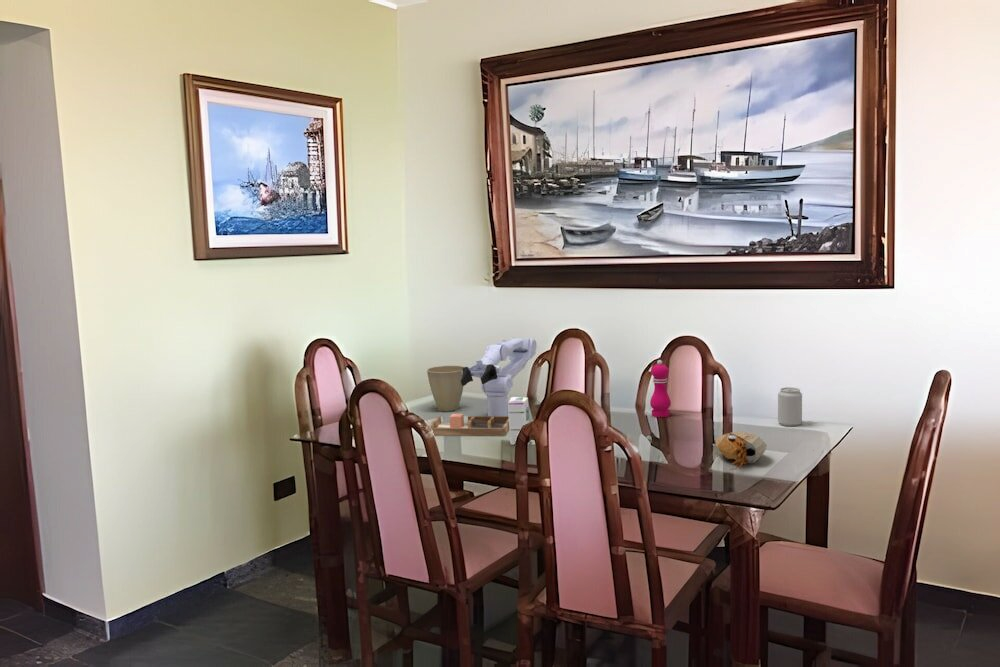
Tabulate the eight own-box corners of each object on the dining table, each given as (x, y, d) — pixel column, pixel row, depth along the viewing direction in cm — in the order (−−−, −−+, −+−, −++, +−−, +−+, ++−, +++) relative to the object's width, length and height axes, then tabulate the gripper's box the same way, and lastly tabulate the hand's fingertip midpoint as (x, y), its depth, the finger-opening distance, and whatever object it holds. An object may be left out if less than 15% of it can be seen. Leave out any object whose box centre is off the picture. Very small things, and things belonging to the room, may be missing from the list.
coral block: (453, 424, 284) (452, 413, 283) (464, 424, 283) (463, 413, 283) (450, 427, 280) (449, 416, 279) (461, 427, 279) (460, 416, 279)
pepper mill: (671, 417, 282) (670, 361, 279) (650, 418, 283) (649, 362, 281) (670, 412, 289) (669, 358, 286) (650, 413, 290) (649, 358, 288)
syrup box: (527, 445, 257) (525, 400, 255) (509, 444, 258) (507, 400, 256) (530, 440, 262) (528, 396, 260) (512, 440, 263) (510, 396, 261)
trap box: (438, 424, 288) (438, 416, 288) (513, 424, 283) (512, 416, 283) (426, 437, 271) (425, 428, 271) (504, 437, 266) (504, 428, 266)
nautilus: (756, 478, 217) (702, 474, 225) (773, 451, 236) (722, 449, 243) (754, 450, 216) (699, 447, 224) (771, 425, 234) (720, 423, 242)
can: (778, 426, 265) (778, 391, 263) (777, 420, 272) (777, 386, 270) (802, 427, 263) (802, 391, 261) (801, 421, 270) (801, 386, 268)
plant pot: (466, 413, 302) (463, 371, 300) (426, 414, 303) (424, 373, 301) (469, 404, 317) (467, 364, 315) (431, 405, 318) (429, 365, 316)
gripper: (466, 355, 285) (450, 373, 274) (502, 352, 279) (487, 370, 267) (471, 373, 287) (456, 391, 276) (508, 370, 281) (493, 388, 270)
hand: (472, 382), depth 272 cm, fingers open, 7 cm apart
